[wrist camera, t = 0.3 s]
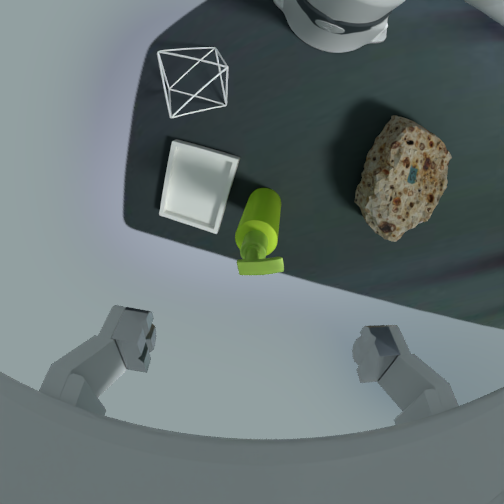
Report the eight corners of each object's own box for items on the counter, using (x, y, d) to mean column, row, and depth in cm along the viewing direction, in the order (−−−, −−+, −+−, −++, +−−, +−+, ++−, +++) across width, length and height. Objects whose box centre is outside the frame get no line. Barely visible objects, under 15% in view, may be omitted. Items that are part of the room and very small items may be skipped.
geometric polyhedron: (252, 86, 38) (243, 83, 30) (202, 126, 42) (183, 133, 35) (204, 36, 34) (185, 24, 26) (158, 78, 38) (132, 77, 30)
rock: (377, 105, 37) (414, 110, 29) (430, 140, 41) (466, 153, 32) (335, 211, 46) (361, 237, 38) (392, 230, 50) (419, 256, 42)
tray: (176, 139, 44) (172, 141, 43) (240, 157, 45) (238, 159, 43) (162, 211, 52) (159, 215, 51) (219, 229, 53) (216, 234, 51)
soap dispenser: (288, 215, 50) (285, 286, 33) (251, 219, 51) (230, 289, 34) (284, 185, 47) (280, 245, 30) (245, 189, 48) (219, 249, 31)
